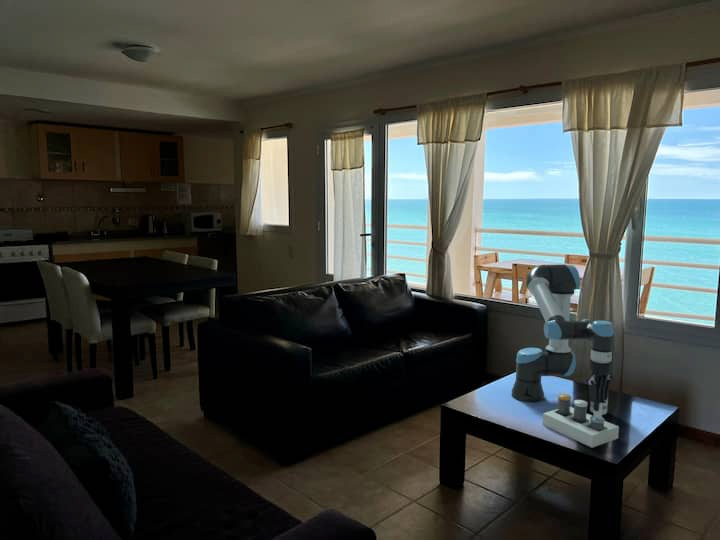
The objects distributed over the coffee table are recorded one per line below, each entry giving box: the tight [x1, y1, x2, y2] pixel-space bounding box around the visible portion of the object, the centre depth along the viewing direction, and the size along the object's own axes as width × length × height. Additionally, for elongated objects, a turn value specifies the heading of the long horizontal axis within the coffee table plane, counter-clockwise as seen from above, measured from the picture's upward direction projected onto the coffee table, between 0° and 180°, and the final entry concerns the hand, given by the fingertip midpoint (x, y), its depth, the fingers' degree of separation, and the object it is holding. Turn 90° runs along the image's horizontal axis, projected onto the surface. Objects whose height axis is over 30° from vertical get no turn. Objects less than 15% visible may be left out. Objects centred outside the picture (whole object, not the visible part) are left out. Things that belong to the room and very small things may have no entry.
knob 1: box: [557, 393, 572, 416], centre depth 218 cm, size 5×5×8 cm
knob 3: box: [590, 415, 606, 431], centre depth 204 cm, size 5×5×8 cm
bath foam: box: [589, 397, 609, 416], centre depth 230 cm, size 7×7×20 cm
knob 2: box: [573, 399, 589, 423], centre depth 211 cm, size 5×5×8 cm
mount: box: [542, 406, 620, 448], centre depth 211 cm, size 24×16×5 cm, turn 29°
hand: (597, 418), depth 204 cm, fingers closed
